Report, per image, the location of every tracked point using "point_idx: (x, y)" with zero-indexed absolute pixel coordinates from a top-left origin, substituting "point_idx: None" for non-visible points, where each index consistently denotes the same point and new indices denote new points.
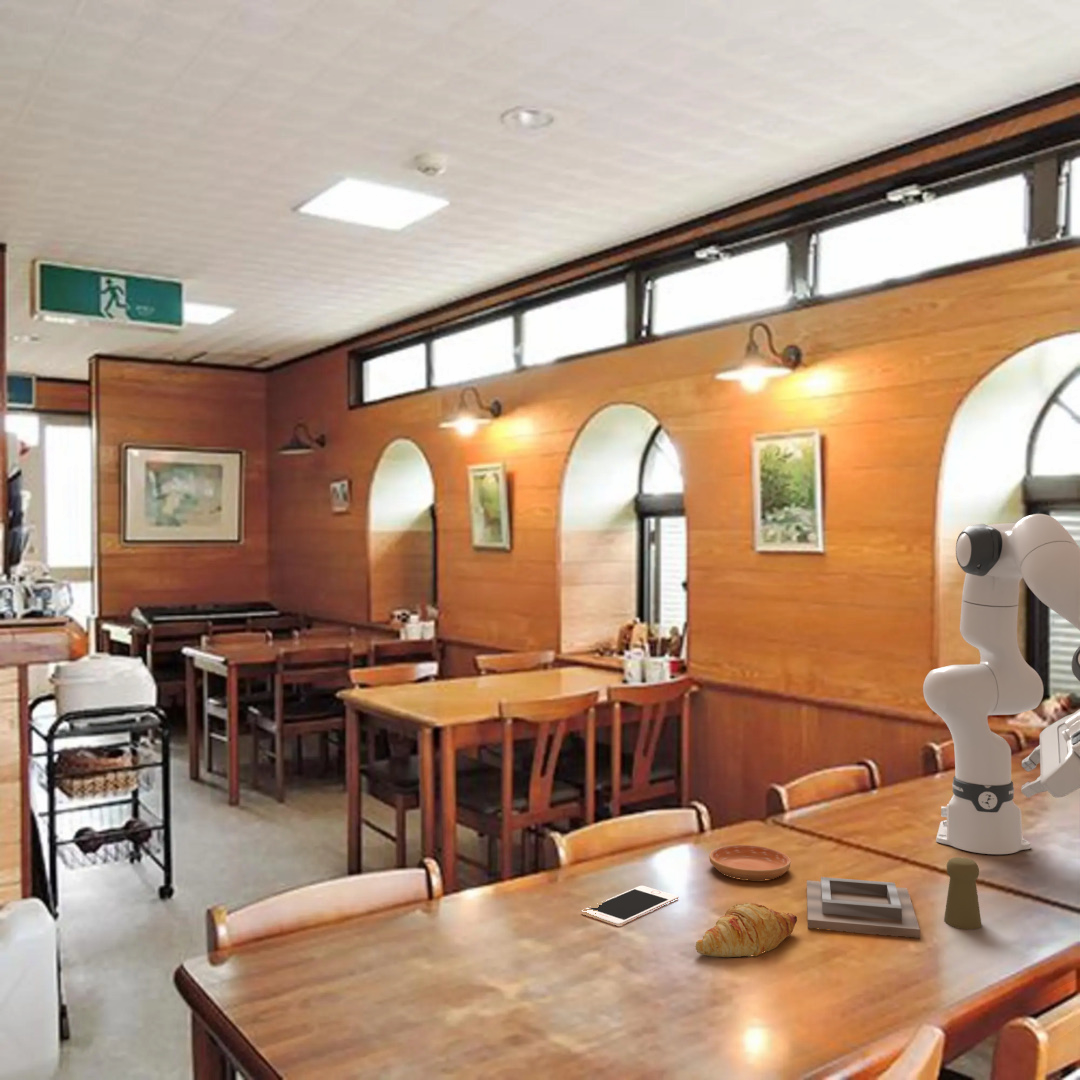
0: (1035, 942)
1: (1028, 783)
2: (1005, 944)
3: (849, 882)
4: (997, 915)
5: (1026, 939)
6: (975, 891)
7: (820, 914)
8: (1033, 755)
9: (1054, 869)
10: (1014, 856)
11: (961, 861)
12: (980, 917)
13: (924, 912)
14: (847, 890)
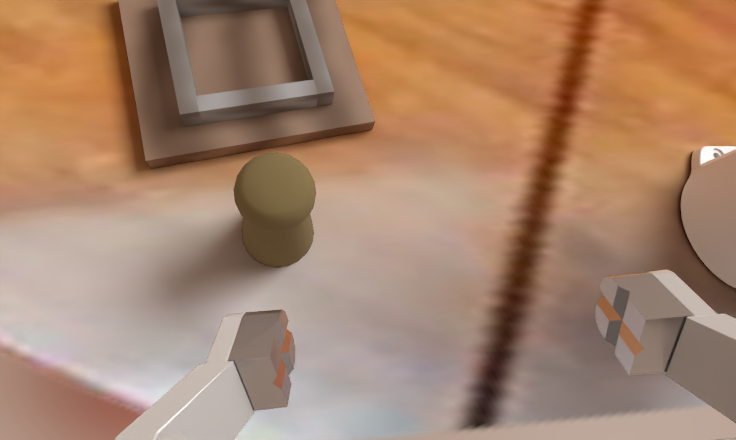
0: None
1: (236, 357)
2: (189, 320)
3: (296, 21)
4: (354, 289)
5: None
6: (265, 237)
7: (153, 3)
8: (726, 352)
9: None
10: (716, 288)
11: (256, 180)
12: (276, 261)
13: None
14: (295, 30)
